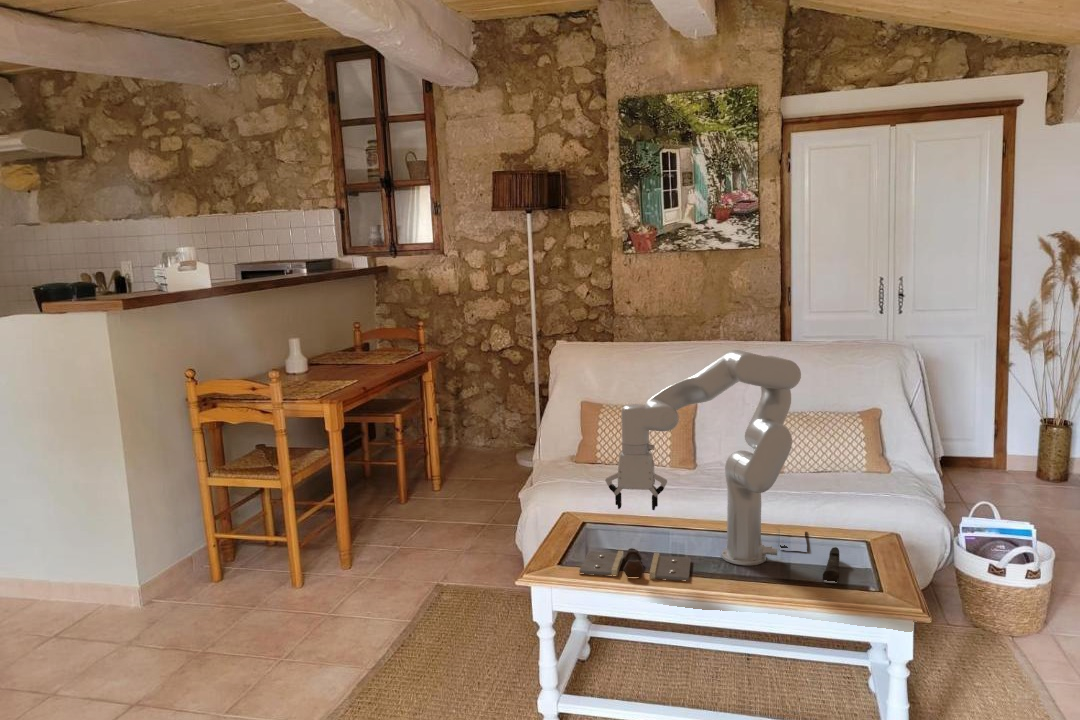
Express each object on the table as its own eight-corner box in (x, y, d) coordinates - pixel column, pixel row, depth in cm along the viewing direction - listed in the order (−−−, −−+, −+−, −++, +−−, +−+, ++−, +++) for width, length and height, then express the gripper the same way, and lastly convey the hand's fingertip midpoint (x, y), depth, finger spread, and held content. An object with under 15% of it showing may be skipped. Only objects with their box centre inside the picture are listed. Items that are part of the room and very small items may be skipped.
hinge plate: (690, 561, 230) (690, 555, 230) (688, 581, 215) (688, 574, 215) (588, 555, 237) (588, 548, 236) (579, 574, 222) (579, 567, 222)
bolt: (635, 565, 233) (636, 584, 218) (620, 556, 233) (620, 574, 218) (644, 548, 233) (647, 566, 218) (629, 540, 233) (631, 557, 218)
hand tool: (838, 586, 211) (838, 569, 211) (822, 583, 213) (822, 567, 213) (845, 562, 228) (846, 546, 228) (830, 560, 230) (831, 544, 229)
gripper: (667, 446, 224) (668, 505, 226) (606, 445, 228) (608, 503, 230) (665, 452, 216) (666, 513, 218) (602, 451, 220) (604, 511, 222)
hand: (636, 508), depth 224 cm, fingers open, 9 cm apart
